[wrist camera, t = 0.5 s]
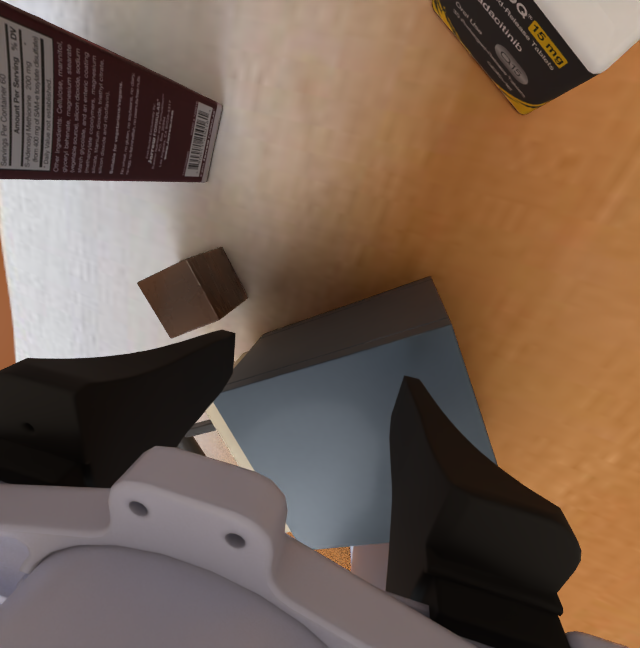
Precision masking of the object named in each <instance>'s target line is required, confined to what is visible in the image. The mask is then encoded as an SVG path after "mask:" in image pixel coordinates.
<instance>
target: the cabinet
mask: <svg viewBox="0 0 640 648" xmlns="http://www.w3.org/2000/svg"><path fill="white" fill-rule="evenodd" d="M404 375H405V376H409V377H413V378H417V379H420V380H421V382H422V383H423V385H424V386H425V387H426V389H427V390H428V392H429V393H430V395H431V396H432V398H433V399H434V400H435V402H436V403H437V404H438V406H439V407H440V408H441V410H442V411H443V412H444V414H445V415H446V416H447V417H448V419H449V420H450V421H451V422H452V423H453V424H454V426H455V427H456V428H457V429H458V430H459V431H460V432H461V433H462V434H463V435H464V436H465V437H466V438H467V439H468V440H469V441H470V442H471V443H472V444H473V445H474V446H475V447H476V448H477V449H478V450H479V451H480V452H481V453H483V454H484V455H485V456H486V457H487V458H489V459H490V460H491V461H492V462H493V463H495V464H496V465H497V462H496V458H495V455H494V452H493V449H492V446H491V443H490V440H489V437H488V434H487V431H486V428H485V425H484V422H483V419H482V415H481V412H480V409H479V406H478V403H477V400H476V397H475V394H474V391H473V388H472V385H471V382H470V379H469V375H468V372H467V369H466V366H465V363H464V360H463V357H462V354H461V351H460V348H459V345H458V342H457V339H456V336H455V332H454V329H453V326H452V324H451V321H450V319H449V317H448V315H447V312H446V310H445V308H444V306H443V303H442V301H441V299H440V296H439V294H438V292H437V290H436V287H435V285H434V283H433V281H432V278H431V276H429V277H426V278H424V279H421V280H418V281H415V282H412V283H409V284H406V285H404V286H401V287H398V288H395V289H392V290H389V291H386V292H384V293H381V294H378V295H375V296H372V297H369V298H366V299H363V300H361V301H358V302H355V303H352V304H349V305H346V306H343V307H341V308H338V309H335V310H332V311H329V312H326V313H323V314H320V315H318V316H315V317H312V318H309V319H306V320H303V321H300V322H298V323H295V324H292V325H289V326H286V327H283V328H280V329H278V330H275V331H272V332H269V333H266V334H263V335H262V337H261V338H260V339H259V340H258V341H257V343H256V344H255V345H254V346H253V347H252V348H251V349H250V350H249V352H248V353H247V354H246V355H245V356H244V357H243V358H242V360H241V361H240V362H239V363H238V364H237V365H236V366H235V368H234V369H233V374H232V376H231V378H230V379H229V381H228V383H227V384H226V386H225V387H224V389H223V390H222V392H221V393H220V394H219V396H218V397H217V398H216V399H215V400H214V402H213V403H214V405H215V406H216V408H217V409H218V411H219V413H220V414H221V416H222V418H223V419H224V421H225V423H226V424H227V426H228V428H229V429H230V431H231V433H232V434H233V436H234V438H235V439H236V441H237V443H238V444H239V446H240V448H241V449H242V451H243V453H244V454H245V456H246V458H247V459H248V461H249V463H250V464H251V466H252V468H253V469H254V471H255V472H257V473H259V474H261V475H263V476H265V477H267V478H269V479H271V480H272V481H273V482H274V483H275V484H276V485H277V487H278V488H279V489H280V490H281V491H282V493H283V494H284V495H285V498H286V504H287V509H288V512H287V518H286V524H287V526H288V527H289V529H290V531H291V532H292V534H293V536H294V537H295V539H296V540H298V541H299V542H301V543H303V544H305V545H306V546H308V547H310V548H311V549H313V550H315V549H326V548H338V547H349V546H360V545H371V544H382V543H389V539H390V525H391V506H392V482H391V463H390V443H389V434H390V422H391V414H392V411H393V408H394V405H395V402H396V399H397V396H398V393H399V390H400V387H401V383H402V380H403V377H404ZM497 466H498V465H497Z"/></svg>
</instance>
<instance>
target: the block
mask: <svg viewBox="0 0 640 648" xmlns="http://www.w3.org/2000/svg"><path fill="white" fill-rule="evenodd" d="M137 284H138V286H139V287H140V289H141V291H142V292H143V294H144V295H145V297H146V299H147V300H148V302H149V304H150V305H151V307H152V309H153V310H154V312H155V314H156V315H157V317H158V319H159V320H160V322H161V323H162V325H163V327H164V328H165V330H166V332H167V333H168V335H169V337H170V338H174V337H177V336H179V335H182V334H185V333H187V332H190V331H192V330H195V329H198V328H200V327H203V326H205V325H208V324H210V323H213V322H216V321H218V320H220V319H221V318H223V317H224V316H225V315H227V314H228V313H229V312H231V311H232V310H233V309H235V308H236V307H237V306H238V305H240V304H241V303H242V302H244V301H245V300H246V299H248V297H247V295H246V293H245V291H244V289H243V287H242V285H241V283H240V281H239V279H238V277H237V275H236V273H235V271H234V269H233V267H232V265H231V263H230V261H229V259H228V258H227V256H226V254H225V252H224V250H223V248H222V247H219V248H216V249H213V250H211V251H208V252H205V253H202V254H199V255H196V256H193V257H190V258H187V259H185V260H183V261H181V262H179V263H176V264H174V265H172V266H170V267H168V268H166V269H164V270H162V271H160V272H158V273H156V274H154V275H152V276H150V277H147V278H145V279H143V280H141V281H139V282H138V283H137Z"/></svg>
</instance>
